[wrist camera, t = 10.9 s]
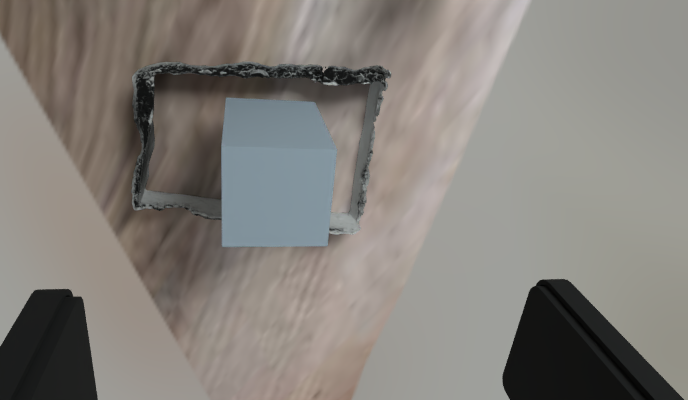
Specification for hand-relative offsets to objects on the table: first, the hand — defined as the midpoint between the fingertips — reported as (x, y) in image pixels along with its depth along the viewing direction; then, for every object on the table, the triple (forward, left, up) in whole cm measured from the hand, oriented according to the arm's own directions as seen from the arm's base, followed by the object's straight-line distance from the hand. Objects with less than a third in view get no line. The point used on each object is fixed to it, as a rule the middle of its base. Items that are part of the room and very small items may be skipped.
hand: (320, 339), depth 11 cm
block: (+2, 0, -18) cm, 18 cm away
